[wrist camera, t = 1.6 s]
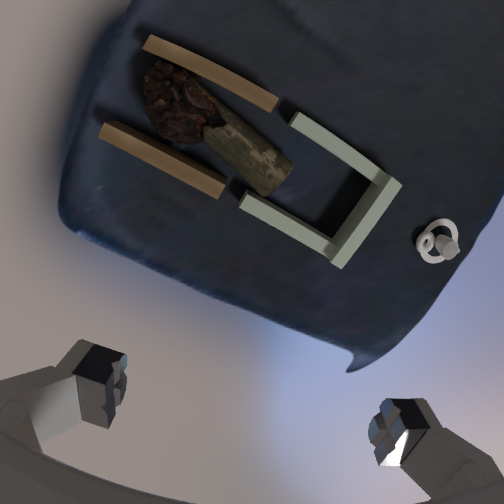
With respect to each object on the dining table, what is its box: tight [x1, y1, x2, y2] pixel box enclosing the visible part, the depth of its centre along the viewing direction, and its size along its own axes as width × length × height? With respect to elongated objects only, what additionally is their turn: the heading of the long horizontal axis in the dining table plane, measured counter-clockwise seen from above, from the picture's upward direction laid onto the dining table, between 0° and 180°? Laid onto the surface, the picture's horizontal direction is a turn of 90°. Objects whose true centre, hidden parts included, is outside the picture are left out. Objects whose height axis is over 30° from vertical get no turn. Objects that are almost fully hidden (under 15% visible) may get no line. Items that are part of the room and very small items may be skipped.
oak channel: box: [98, 35, 279, 199], centre depth 35 cm, size 14×17×4 cm
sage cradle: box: [239, 112, 402, 269], centre depth 40 cm, size 14×16×4 cm
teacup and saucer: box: [416, 218, 460, 263], centre depth 44 cm, size 9×8×4 cm
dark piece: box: [143, 60, 293, 197], centre depth 35 cm, size 21×8×7 cm, turn 46°
